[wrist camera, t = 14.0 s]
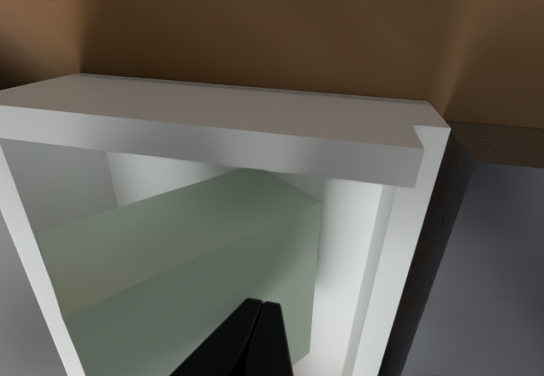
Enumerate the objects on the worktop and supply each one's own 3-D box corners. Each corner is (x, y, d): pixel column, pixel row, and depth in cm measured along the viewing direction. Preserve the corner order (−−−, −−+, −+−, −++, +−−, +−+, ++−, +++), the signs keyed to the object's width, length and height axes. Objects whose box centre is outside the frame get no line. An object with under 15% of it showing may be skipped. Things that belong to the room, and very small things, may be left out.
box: (344, 431, 17) (342, 535, 14) (148, 383, 19) (104, 465, 16) (428, 101, 9) (473, 154, 6) (78, 73, 11) (-44, 100, 8)
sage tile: (133, 490, 8) (99, 393, 10) (309, 352, 12) (257, 300, 14) (61, 317, 5) (36, 232, 8) (321, 201, 9) (253, 165, 11)
